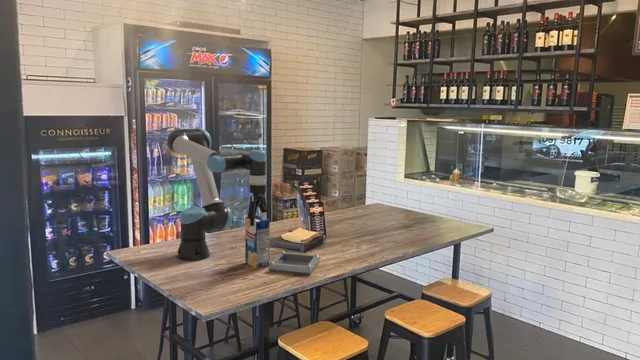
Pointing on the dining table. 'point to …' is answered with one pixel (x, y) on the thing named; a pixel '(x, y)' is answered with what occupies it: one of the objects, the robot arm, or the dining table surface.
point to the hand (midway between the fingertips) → (257, 229)
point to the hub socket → (294, 263)
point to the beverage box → (257, 243)
